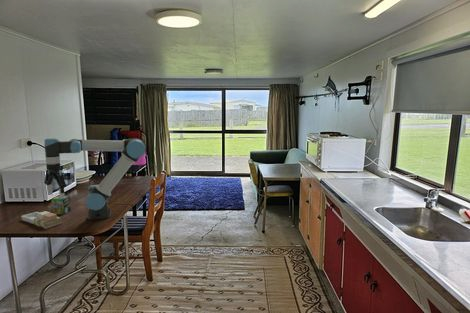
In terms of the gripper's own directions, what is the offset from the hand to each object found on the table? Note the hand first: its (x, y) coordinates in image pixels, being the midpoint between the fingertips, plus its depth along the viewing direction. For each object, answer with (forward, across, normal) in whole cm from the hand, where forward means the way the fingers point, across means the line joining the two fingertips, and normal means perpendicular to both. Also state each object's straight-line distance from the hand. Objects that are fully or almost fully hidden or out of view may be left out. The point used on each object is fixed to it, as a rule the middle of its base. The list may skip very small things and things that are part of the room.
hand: (56, 196), depth 185 cm
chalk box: (+21, +27, -18) cm, 39 cm away
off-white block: (+17, +16, 0) cm, 23 cm away
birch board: (+21, +12, 0) cm, 24 cm away
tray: (+21, +27, 0) cm, 34 cm away
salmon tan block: (+17, +9, 0) cm, 19 cm away
